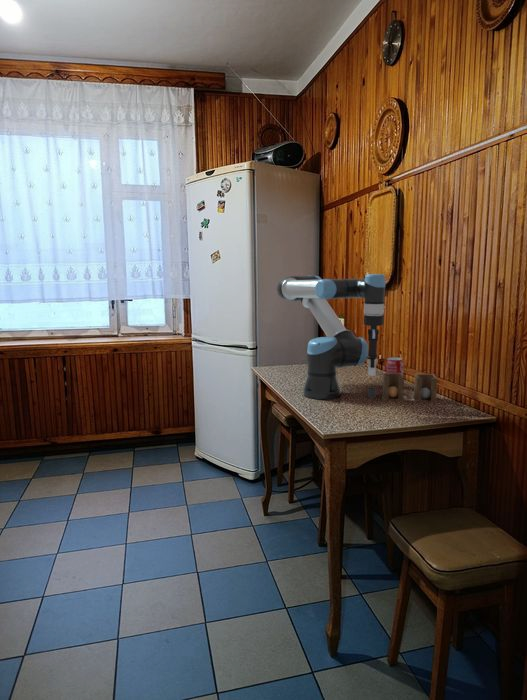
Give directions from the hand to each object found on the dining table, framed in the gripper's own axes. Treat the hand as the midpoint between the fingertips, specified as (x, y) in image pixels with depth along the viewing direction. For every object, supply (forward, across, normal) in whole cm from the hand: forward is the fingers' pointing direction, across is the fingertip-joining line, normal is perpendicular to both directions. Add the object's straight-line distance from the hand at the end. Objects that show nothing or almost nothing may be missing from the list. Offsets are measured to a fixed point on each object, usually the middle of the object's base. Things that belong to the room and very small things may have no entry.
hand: (371, 373), depth 183 cm
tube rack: (+10, 0, -14) cm, 18 cm away
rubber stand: (+10, 0, 0) cm, 10 cm away
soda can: (+10, +20, -10) cm, 24 cm away
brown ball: (-3, 0, 0) cm, 3 cm away
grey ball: (+9, 0, -20) cm, 22 cm away
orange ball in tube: (+9, 0, -8) cm, 12 cm away
